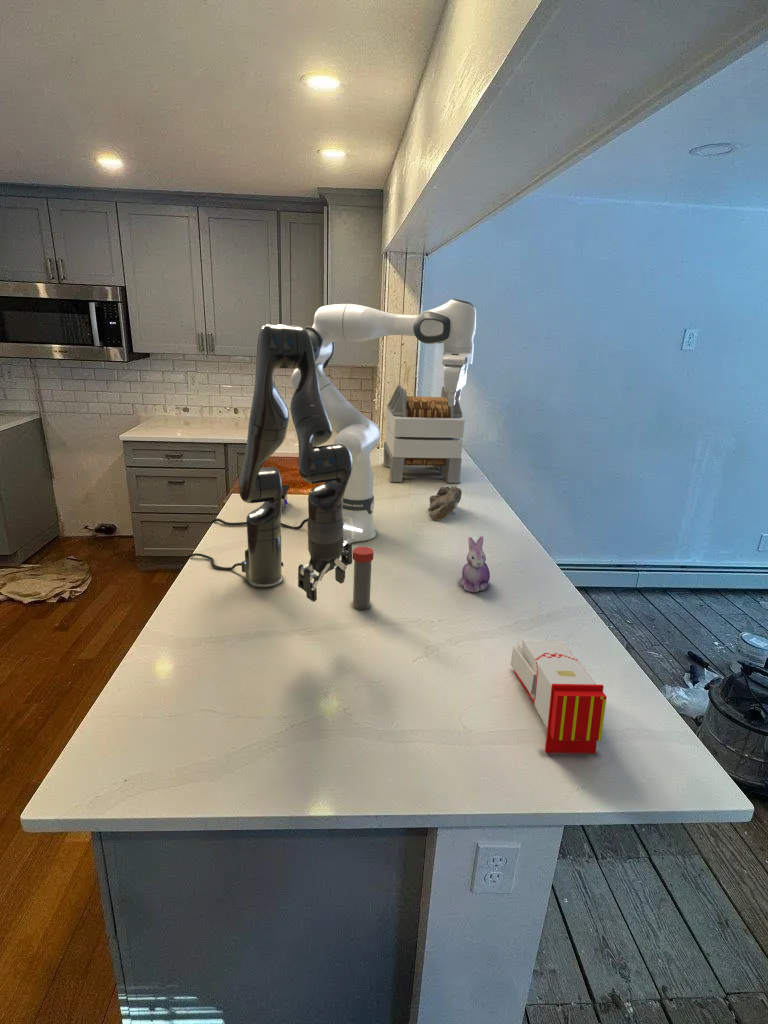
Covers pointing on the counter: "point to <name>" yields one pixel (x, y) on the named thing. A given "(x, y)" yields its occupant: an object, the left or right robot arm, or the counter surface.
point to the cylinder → (362, 585)
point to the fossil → (444, 502)
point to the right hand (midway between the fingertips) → (454, 403)
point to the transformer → (423, 434)
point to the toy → (561, 695)
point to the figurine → (475, 568)
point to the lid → (363, 554)
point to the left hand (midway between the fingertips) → (326, 590)
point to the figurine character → (284, 495)
